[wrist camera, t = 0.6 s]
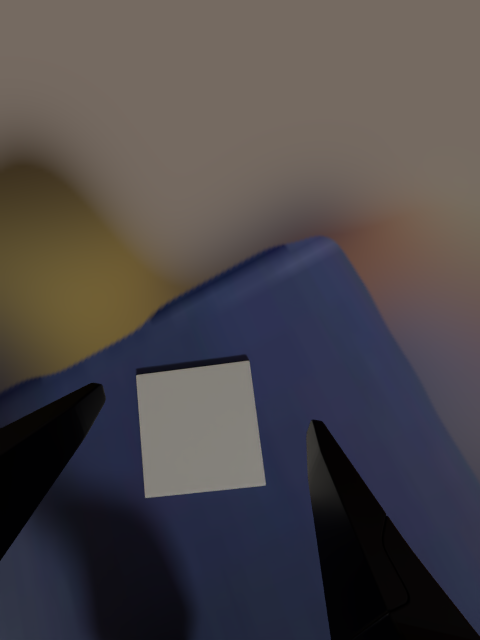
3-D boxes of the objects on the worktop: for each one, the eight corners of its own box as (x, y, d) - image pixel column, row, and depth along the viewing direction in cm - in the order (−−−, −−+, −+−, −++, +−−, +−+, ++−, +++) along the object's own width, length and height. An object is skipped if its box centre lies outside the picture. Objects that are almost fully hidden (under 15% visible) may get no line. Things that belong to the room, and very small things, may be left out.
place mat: (265, 481, 23) (265, 485, 22) (148, 494, 24) (145, 498, 23) (249, 360, 24) (249, 360, 24) (138, 374, 25) (136, 375, 24)
